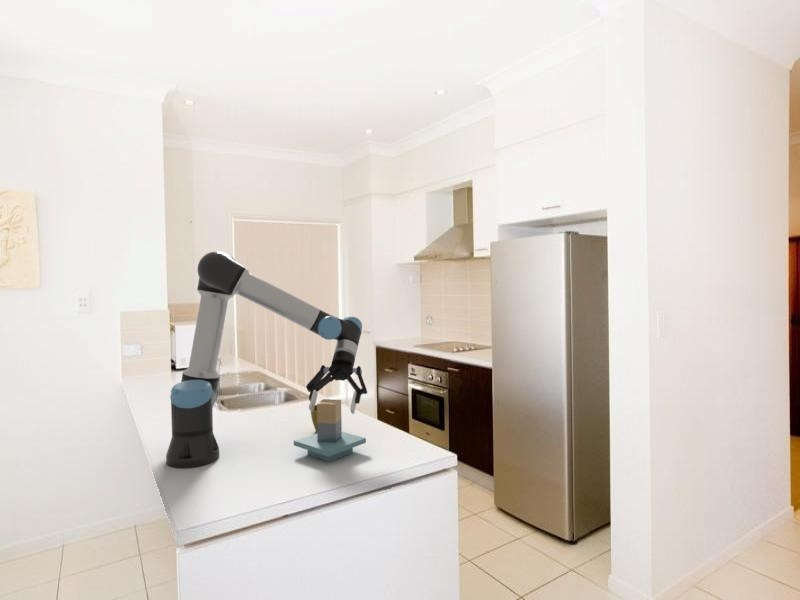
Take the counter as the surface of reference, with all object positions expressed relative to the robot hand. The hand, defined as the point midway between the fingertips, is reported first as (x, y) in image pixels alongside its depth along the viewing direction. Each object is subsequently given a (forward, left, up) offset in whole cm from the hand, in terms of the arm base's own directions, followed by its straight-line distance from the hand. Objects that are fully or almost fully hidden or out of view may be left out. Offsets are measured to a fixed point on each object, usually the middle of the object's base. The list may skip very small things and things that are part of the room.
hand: (331, 410), depth 159 cm
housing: (0, -1, -9) cm, 9 cm away
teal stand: (0, -1, -13) cm, 14 cm away
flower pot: (-19, +13, -14) cm, 27 cm away
